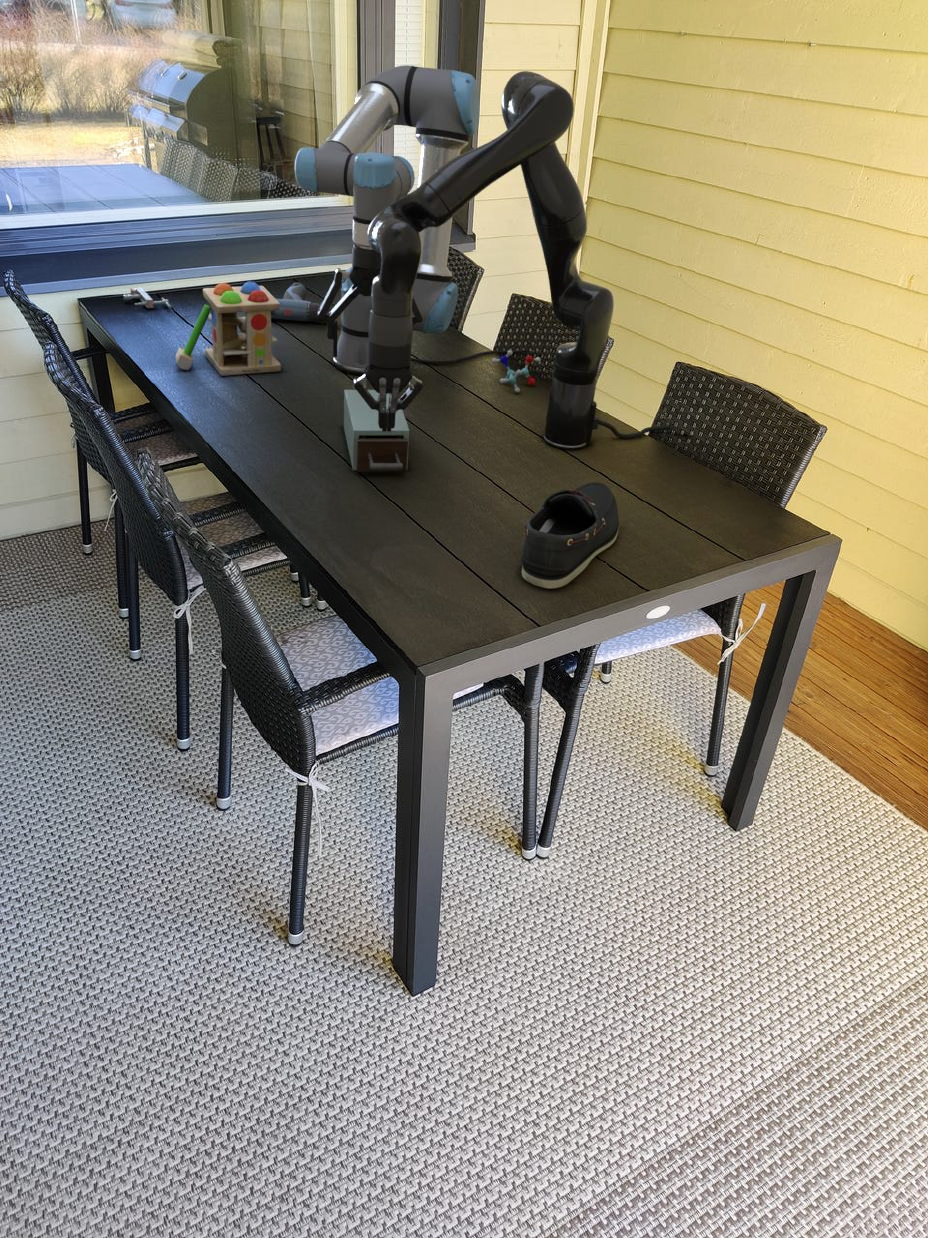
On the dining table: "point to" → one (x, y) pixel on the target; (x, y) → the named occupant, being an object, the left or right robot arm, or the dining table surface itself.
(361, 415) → the cabinet
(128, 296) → the clamp
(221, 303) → the pounding bench toy
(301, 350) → the dining table surface
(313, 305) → the power drill
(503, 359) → the molecular model
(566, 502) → the boat shoe
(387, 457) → the drawer
